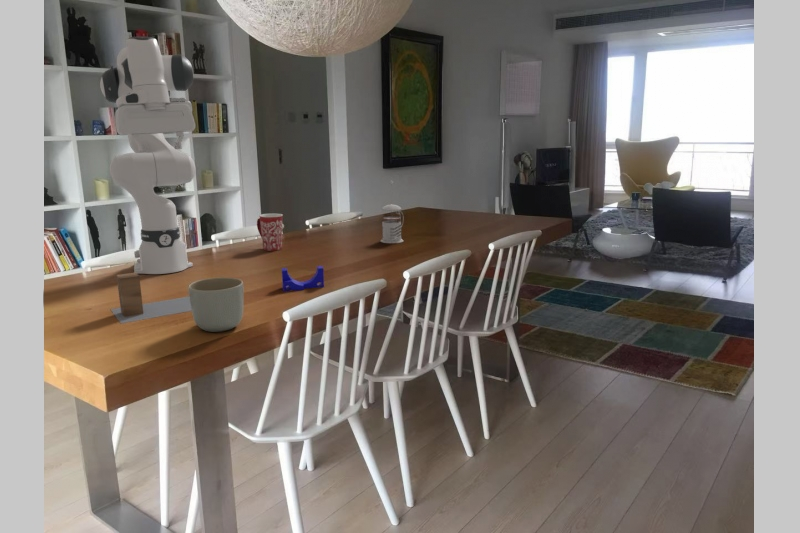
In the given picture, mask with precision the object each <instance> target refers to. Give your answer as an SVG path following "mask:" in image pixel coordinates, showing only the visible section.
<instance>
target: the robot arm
mask: <svg viewBox="0 0 800 533" xmlns="http://www.w3.org/2000/svg"><path fill="white" fill-rule="evenodd" d="M116 66H117V67H114V66H113V65H111V66H110V68H109V69H107V70H105V71H104V72H103V73H102V74H101V77H100V83H99V87H100V90H101V93H102V95H103V96H104V98H105V100H106V101H107V102H109V103H113V104H116V107H117V109H116V110H115V112H114V122H115V131H116V133H118V135H119V136H127V138H128V142H129V146H130V149H132V151H133V152H129V153H122V154H118V155H115V156H114V157H113V158H112V160H111V162H110V165H109V174H110V177H111V179H112V180H113V182H114V183H116V185H117V186H119V187H121V188H123V189H124V190H125V191H126V192H127V193H129V194H130V196H131V197H132V198H133V199H134V201H135V203H136V205H137V207H138V211H139V212H138V213H139V217H140V223H141V224H140V225H141V229H140V240H141V243H140V245H139V248H138V250H137V249H136V251H134V253H133V254H134V259H137V261H134V263H133V266H134V267H133V273H137V274H138V275H139V274H142V275H143V274H147V275H162V274H163V275H164V274H171V273H172V274H173V273H177V272H181V271H184V270H186V269H189V268H191V267H193V266H194V264H193V262H191V261H188V253H187V247H186V243H185V242H184V241H183V240H181V231H180V227H179V226H178V218H177V206H176V205H175V203H174V202H173V201H172V200H171V199H169V198H166V197H164V196H162V195H159V194H157V193H156V192H155V190H154V188H155V187H170V186H171V187H172V186H180V185H184V184H188V183H191V182H192V181H193V180H194V177H195V175H196V171H197V170H196V164H195V161H194V159H193V158H192V157H191V155H189V154H188V153H185V152H183V151H180V150H181V149H182V148H183V146H182V141H183V139H184V136H185V135H184V133H190V132H194V130H195V129H196V122H195V119H194V115H193V105H192V104H193V103H191V101H190V100H188V99H187V98H185V97H179V98H178V97H170V96H171V92H172V91H176V92H177V91H178V92H180V91H181V92H186V91H187V90H189V89H190V88H191V87H192V85H193V83H194V78H195V77H194V76H195V75H194V68H193V66H192V64H191V61H190V60H189V59H188V58H187V57H185V55H183V54H181V53H180V54H178V53H177V54H172V55H171V54H170V55H169V54H165V55H163V54H162V53H161V49H160V46H159V43H158V40H157V39H156V38H154V36H153V37H152V36H132V37H131V36H130V37H129V38H127V39H126V46H125V47H123V48H121V50H120V51H119V53H118V54H117V58H116ZM165 134H176V137H178V139H177V141H176V142H174V143H173V145H171V144H170V143H169V142H168V140H166V137H165Z"/></svg>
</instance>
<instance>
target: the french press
mask: <svg viewBox="0 0 800 533" xmlns="http://www.w3.org/2000/svg"><path fill="white" fill-rule="evenodd" d="M394 183H395V182H394V181H393V180H390V181H389V182H388V184H389V185H390V197H391V203H390V204H386V205H384V206H383V207H381V209H382V211H387V212H388V211H389V212H391V216H390V215H389V216H384V217H383V218H382V219H383V221H382V222H381V223H382V226H381V227H382V229H381V230H382V238H381V240H380V242H381V243H383V244H399V243H403V242H404V240H403V239H402V227H403V225H404V221H405V220H404V218H405V217H404V213H403V212H402V211H401V210H402V207H400V206H399V205H397V204H393V199H392V198H393V197H392V196H393V192H392V190H393V187H392V186H393V184H394ZM393 212H395V214H397V215H399V216H394V215H393ZM401 215H402V216H401ZM401 218H402V221H401Z"/></svg>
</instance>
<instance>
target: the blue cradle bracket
mask: <svg viewBox="0 0 800 533" xmlns="http://www.w3.org/2000/svg"><path fill="white" fill-rule="evenodd" d="M324 277H325V276H324V267H323V265H319V266H318V265H317V267H316V271H315V273H314V275H313V277H311V278H310V279H307V280H305V281H298V280H296V279H294V278H292V277H291V275H290V274H289V273H288V268H287V267H284V268H283V267H282V268H281V280H282V291H283V292H290V290H294V291H304V290H305V289H313V288H315V289H316V288H325V282H324V281H325V280H324ZM318 283H319V284H318Z"/></svg>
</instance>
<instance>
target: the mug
mask: <svg viewBox="0 0 800 533" xmlns="http://www.w3.org/2000/svg"><path fill="white" fill-rule="evenodd" d="M283 217H284V215H283V214H282V213H276V212H275V213H274V212H273V213H262V214H259V216H258V218H257V219H256V227H257V230H258V233H259V236H260V238H261V240H262V249H263V250H264V251H266V252H267V251H269V252H274V251H276V252H277V251H280V250H282V249H283Z"/></svg>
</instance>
